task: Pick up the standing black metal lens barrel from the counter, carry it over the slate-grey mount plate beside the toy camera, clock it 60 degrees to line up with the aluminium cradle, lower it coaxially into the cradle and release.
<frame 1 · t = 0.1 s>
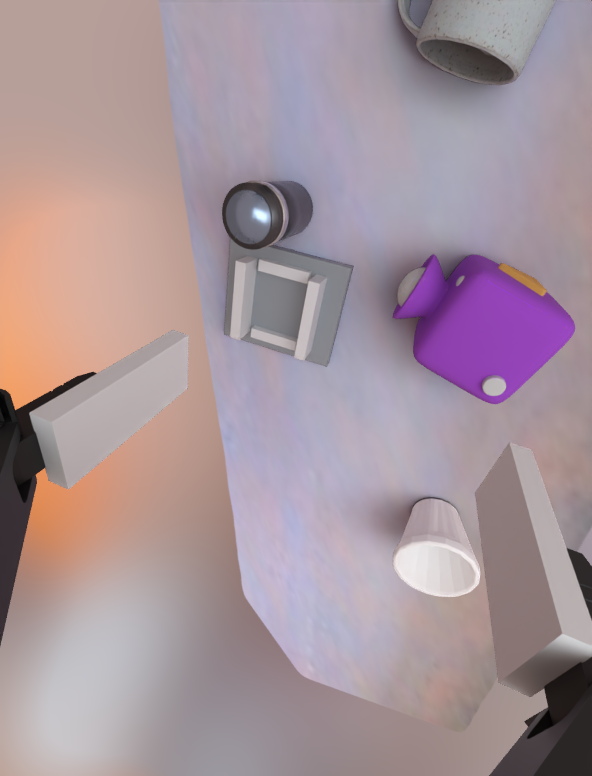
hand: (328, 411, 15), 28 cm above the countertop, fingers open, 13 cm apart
toy camera: (463, 304, 37), on the countertop
mount: (284, 301, 43), on the countertop
cup: (434, 511, 52), on the countertop
ceramic mug: (471, 11, 27), on the countertop
lens: (289, 208, 38), on the countertop
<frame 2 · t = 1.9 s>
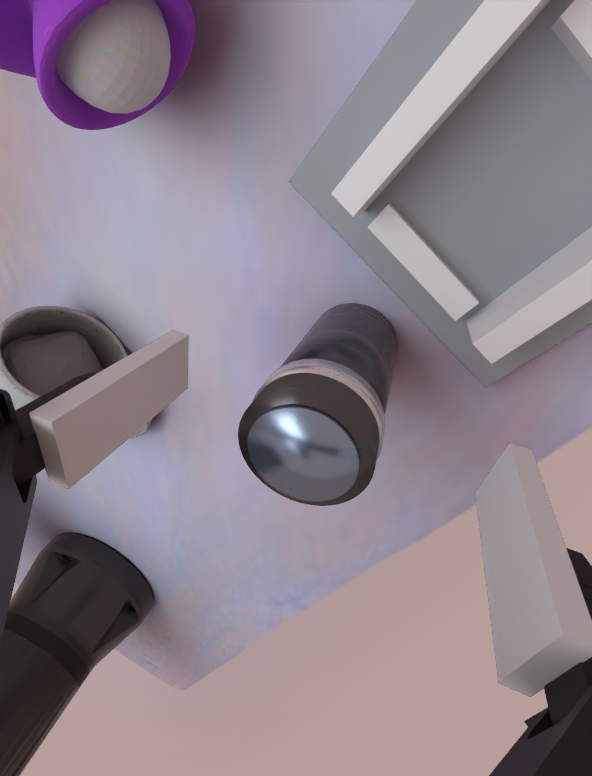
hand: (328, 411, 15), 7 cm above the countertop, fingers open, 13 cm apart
mount: (502, 183, 15), on the countertop
ceramic mug: (108, 370, 29), on the countertop
lens: (352, 345, 21), on the countertop
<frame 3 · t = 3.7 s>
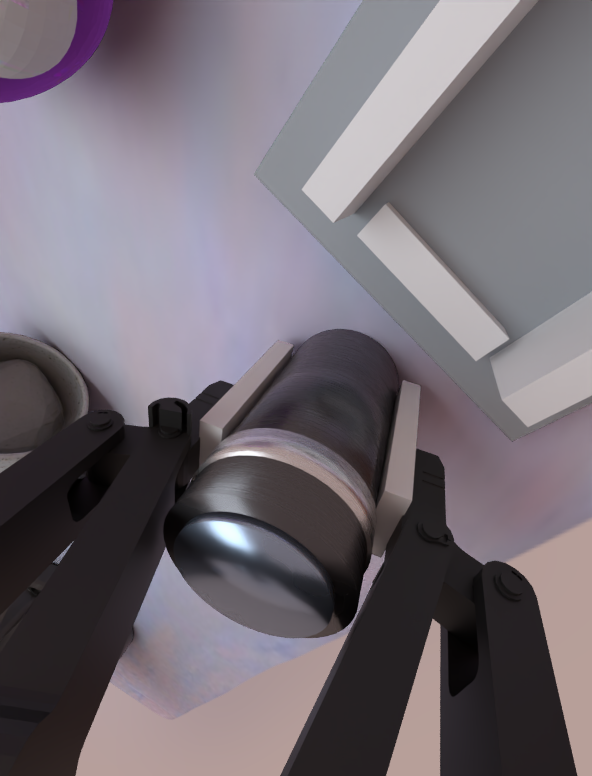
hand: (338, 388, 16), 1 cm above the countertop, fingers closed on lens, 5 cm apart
mount: (545, 175, 11), on the countertop
ceramic mug: (69, 400, 25), on the countertop
lens: (342, 380, 17), on the countertop, touching gripper
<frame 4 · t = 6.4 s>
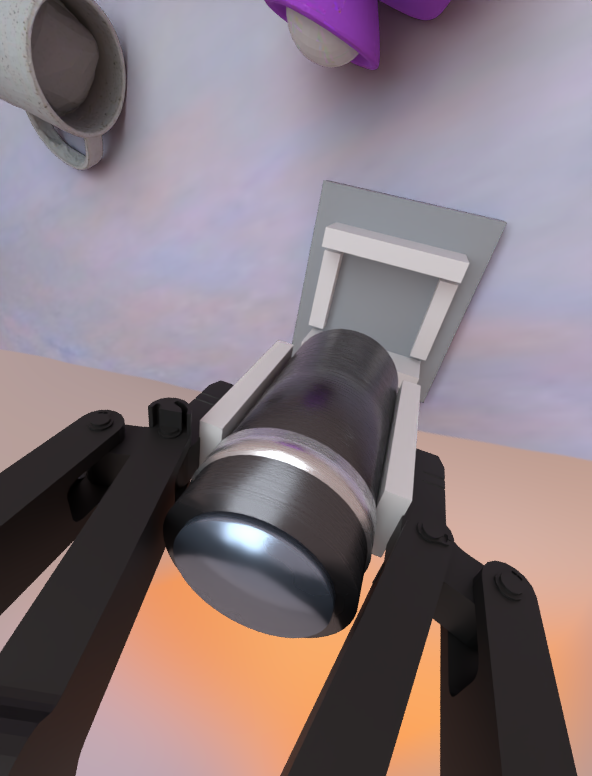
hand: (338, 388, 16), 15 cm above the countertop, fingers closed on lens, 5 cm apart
mount: (380, 298, 28), on the countertop
ceramic mug: (88, 89, 28), on the countertop
lens: (342, 379, 17), point 14 cm above the countertop, touching gripper
when the fingers open (3 cm above the countertop, at t = 9.6 s): lens drops 1 cm, resting on mount.
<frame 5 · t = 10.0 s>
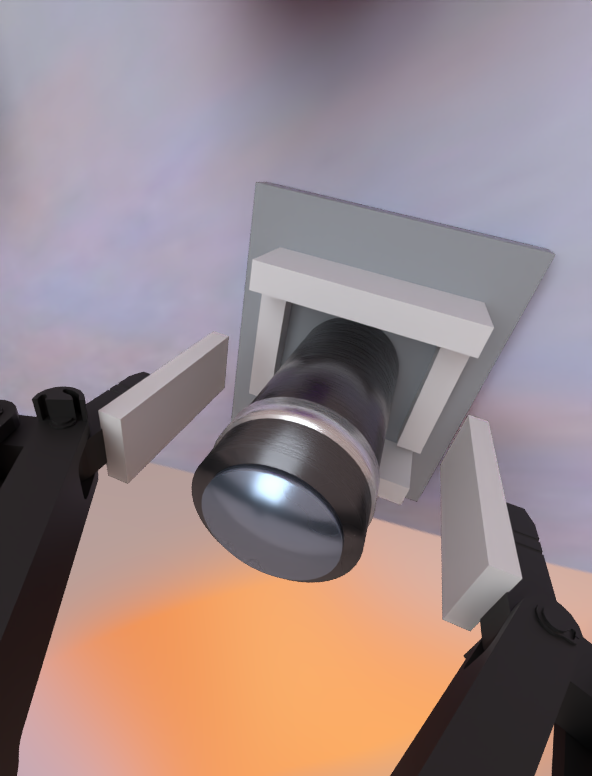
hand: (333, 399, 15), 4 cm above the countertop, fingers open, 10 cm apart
mount: (353, 356, 19), on the countertop
lens: (347, 365, 18), point 1 cm above the countertop, touching mount
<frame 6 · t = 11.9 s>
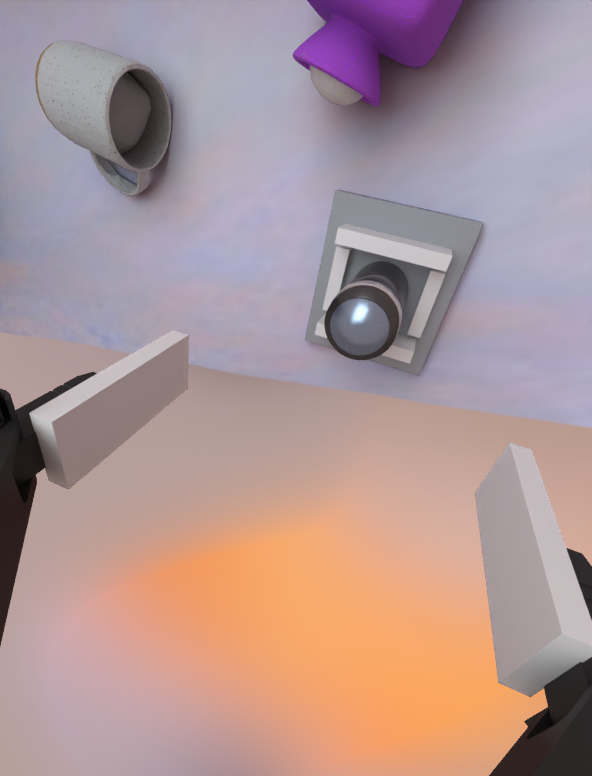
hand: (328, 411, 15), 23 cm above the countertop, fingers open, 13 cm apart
mount: (382, 287, 34), on the countertop
ceramic mug: (139, 132, 35), on the countertop
lens: (379, 289, 33), point 1 cm above the countertop, touching mount
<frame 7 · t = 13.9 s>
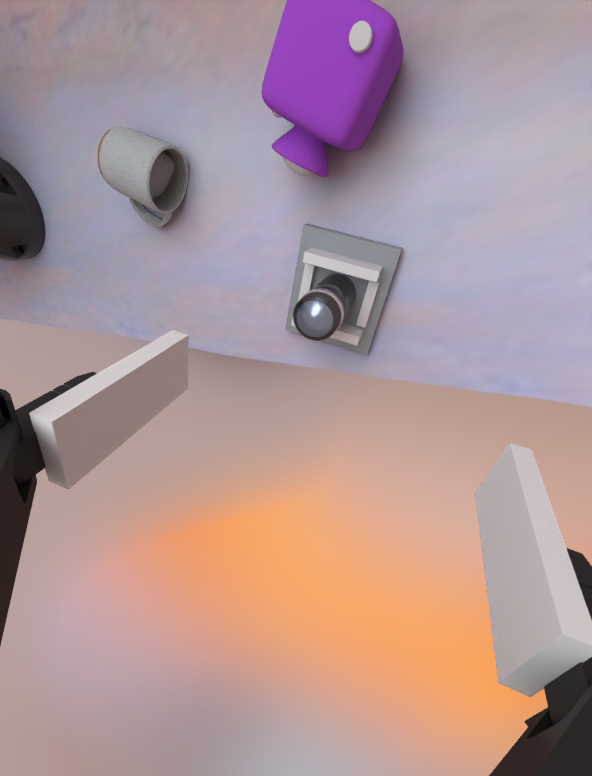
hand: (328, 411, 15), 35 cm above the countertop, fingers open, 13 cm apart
toy camera: (338, 104, 38), on the countertop
mount: (339, 291, 47), on the countertop
ceramic mug: (164, 182, 48), on the countertop
lens: (336, 293, 46), point 1 cm above the countertop, touching mount
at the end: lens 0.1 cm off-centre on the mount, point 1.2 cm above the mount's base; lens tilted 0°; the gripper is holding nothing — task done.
